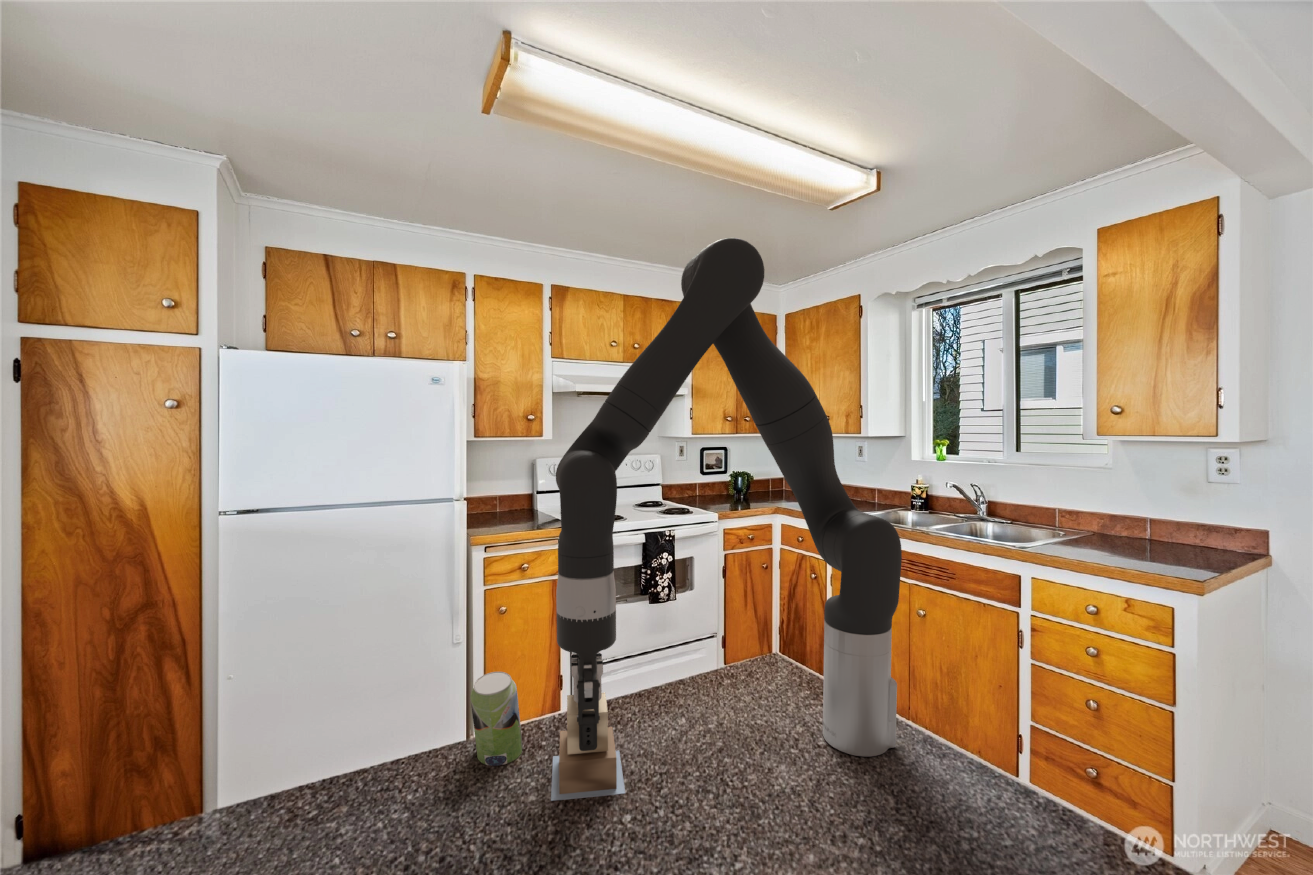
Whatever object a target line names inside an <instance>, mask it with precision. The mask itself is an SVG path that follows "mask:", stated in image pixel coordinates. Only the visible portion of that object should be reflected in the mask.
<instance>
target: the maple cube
mask: <svg viewBox="0 0 1313 875" xmlns="http://www.w3.org/2000/svg"><path fill="white" fill-rule="evenodd" d="M606 697H607V695H606V692H602V697H601V699H600V700H599V716H600V720H599V724H597V748H596V749H595V750H589V751H581V750H580V749H579V725H578V722H577V715H578V703H577V702H575V701H574V694H568V695H566V699H567V700H566V702H567V703H566V725H567V726H566V729H567V751H568V754H578V753H590V752H601V751H608V727H609V715H608V713H609V712H608V704H607V698H606ZM593 710H594V709H588V710H583V711H593Z"/></svg>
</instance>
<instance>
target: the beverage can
mask: <svg viewBox="0 0 1313 875" xmlns="http://www.w3.org/2000/svg"><path fill="white" fill-rule="evenodd" d="M511 676H512V675H510V674H509V673H507V672H504V671H492V672H488V673H485V674H483V675H481V676H480V677H479V678H477V679H476V681H474V684H473V688H472V690H471V692H470V697H469V698H470V705H471V707H470V708H471V714H472V723H473V730H474V732H473V733H474V738H475V748H476V756H477V759H478V761H479V762H480V763H481V764H484V765H487V766H491V767H493V766H497V767H498V766H502V765H506V764H510V763H511V762H514V761H515V760H517V759H518V758H520V756H521V754H522V753H523V747H524V746H523V738H522V737H523V736H522V726H521V718H520V716H521V715H520V707H519V697H518V696H519V695H518V690H517V688H518V687H517V684H516V683H515V681H514V680H513V679H512V677H511ZM518 726H520V727H518Z"/></svg>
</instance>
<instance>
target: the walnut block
mask: <svg viewBox="0 0 1313 875" xmlns="http://www.w3.org/2000/svg"><path fill="white" fill-rule="evenodd" d="M614 736H615V735H614V729H613V726H608V751H601V752H590V753H578V754H568V751H567V730H559V752H558V754H559V755H558V756H559V794H567V793H578V792H588V791H598V790H608V789H617V766H616V751H617V750H616V746H615V745H616V744H615V743H616V742H615V737H614Z"/></svg>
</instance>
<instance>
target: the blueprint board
mask: <svg viewBox="0 0 1313 875" xmlns="http://www.w3.org/2000/svg"><path fill="white" fill-rule="evenodd" d="M621 760H622V759H621V753H620V750H619V749H618V750H616V766H617V789H608V790H598V791H588V792H578V793H567V794H559V755H553V756H552V769H551V770H552V773H551V789H550V790H551V791H550V792H551V793H550V802H554V801H563V800H573V799H574V800H575V799H582V798H583V799H584V798H593V797H595V798H596V797H605V796H616V795H625V794H626V789H625V788H626V787H625V781H624V775H623V767H622V761H621Z"/></svg>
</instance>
